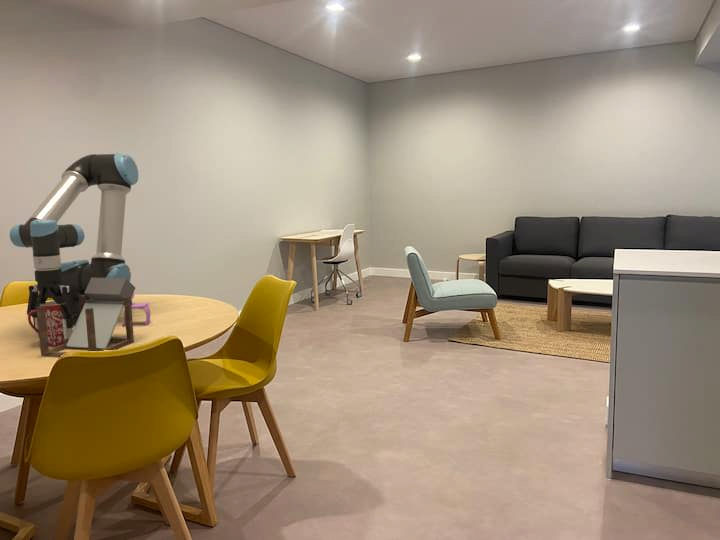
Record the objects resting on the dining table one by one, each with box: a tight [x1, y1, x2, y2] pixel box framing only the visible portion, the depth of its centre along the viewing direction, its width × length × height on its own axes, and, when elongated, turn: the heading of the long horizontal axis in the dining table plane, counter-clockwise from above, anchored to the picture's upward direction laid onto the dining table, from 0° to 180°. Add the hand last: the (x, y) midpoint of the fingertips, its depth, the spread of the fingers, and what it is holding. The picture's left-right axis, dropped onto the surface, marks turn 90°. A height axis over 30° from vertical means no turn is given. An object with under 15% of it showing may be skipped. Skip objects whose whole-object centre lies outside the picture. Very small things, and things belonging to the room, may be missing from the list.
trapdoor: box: [66, 278, 136, 350], centre depth 175 cm, size 14×24×6 cm
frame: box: [37, 295, 135, 358], centre depth 169 cm, size 18×19×15 cm
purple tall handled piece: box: [121, 292, 151, 328], centre depth 201 cm, size 8×9×15 cm
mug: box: [27, 300, 69, 347], centre depth 175 cm, size 13×9×14 cm
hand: (54, 337), depth 175 cm, fingers closed on mug, 10 cm apart
